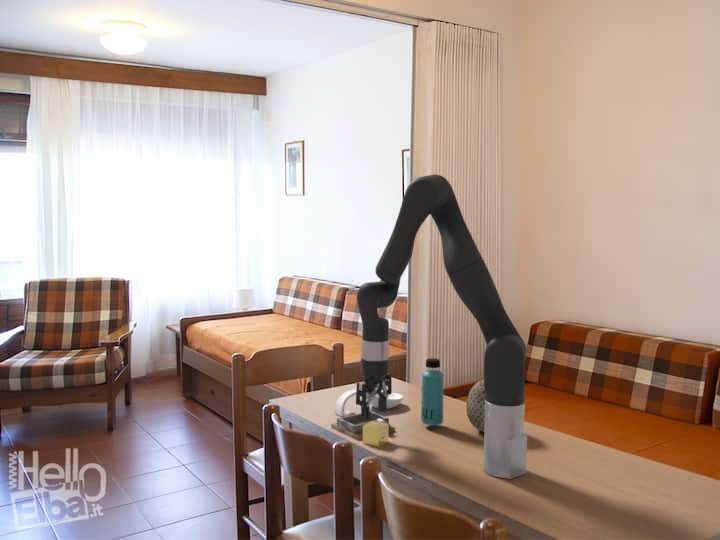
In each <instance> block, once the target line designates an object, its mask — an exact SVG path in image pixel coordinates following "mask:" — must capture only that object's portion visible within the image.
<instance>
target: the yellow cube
mask: <svg viewBox="0 0 720 540" xmlns="http://www.w3.org/2000/svg"><path fill="white" fill-rule="evenodd" d="M388 442H389V433H388V424H386V423H382V422H377V421H371V422H369V423H367V424H365V425H363V439H362V444H363V445H369V446H372V447H377V448H380V447H381V446H383V445H385V444H386V443H388Z"/></svg>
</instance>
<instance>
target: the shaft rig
mask: <svg viewBox="0 0 720 540" xmlns="http://www.w3.org/2000/svg"><path fill="white" fill-rule="evenodd" d="M371 421H377V422H382V423H386V424H388V434H389V433H394V432H395V431H396V428H395V427H394V426H392V425H391V424H390V417H387V416H385V415H382V414H380V413H377V412H375V411H373V410H370V419H369V420H367V421H366V420H362V419H361V412H360V413H355V412H353V411H350V410H346V411H344V416H343V417H337V418H336V422H335V423H331V424H330V427H331V429H333V430H336V431H338V432H340V433H341V434H344V435H347V436H348V437H350V438H352V439H355V440H356V441H361V440H363V425H365V424H367V423H369V422H371Z"/></svg>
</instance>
